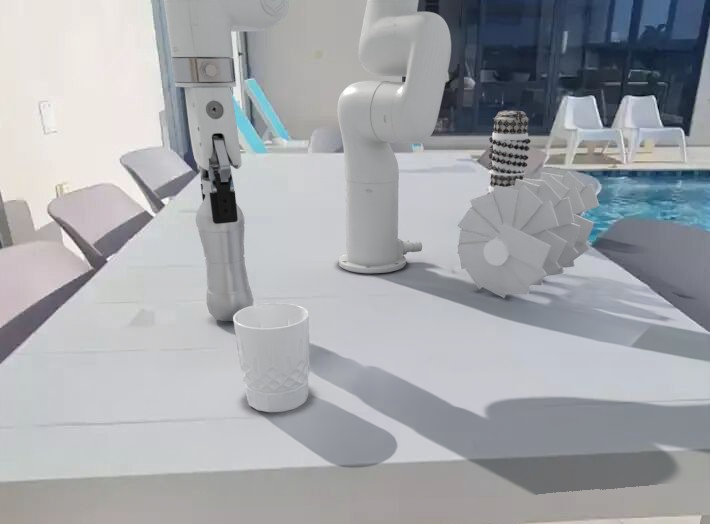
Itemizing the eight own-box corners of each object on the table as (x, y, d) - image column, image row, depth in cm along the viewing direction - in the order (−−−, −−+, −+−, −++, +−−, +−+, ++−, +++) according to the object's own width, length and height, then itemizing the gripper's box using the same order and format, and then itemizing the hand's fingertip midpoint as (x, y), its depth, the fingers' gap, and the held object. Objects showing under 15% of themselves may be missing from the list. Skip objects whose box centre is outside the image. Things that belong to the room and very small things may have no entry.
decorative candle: (513, 229, 146) (523, 113, 136) (477, 224, 151) (484, 111, 140) (528, 222, 153) (539, 111, 143) (493, 217, 158) (501, 109, 147)
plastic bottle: (244, 328, 90) (229, 184, 82) (200, 324, 92) (181, 182, 83) (261, 312, 96) (249, 176, 88) (220, 308, 97) (204, 174, 89)
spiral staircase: (467, 318, 106) (529, 274, 124) (564, 293, 94) (617, 249, 112) (427, 213, 102) (496, 184, 120) (522, 174, 90) (584, 148, 109)
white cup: (324, 388, 74) (321, 307, 69) (293, 421, 67) (287, 333, 63) (264, 378, 76) (257, 299, 72) (228, 408, 69) (218, 323, 65)
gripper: (249, 75, 74) (262, 228, 82) (222, 73, 89) (235, 203, 96) (183, 75, 72) (202, 233, 79) (165, 73, 86) (183, 207, 93)
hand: (220, 215), depth 88 cm, fingers closed on plastic bottle, 6 cm apart
